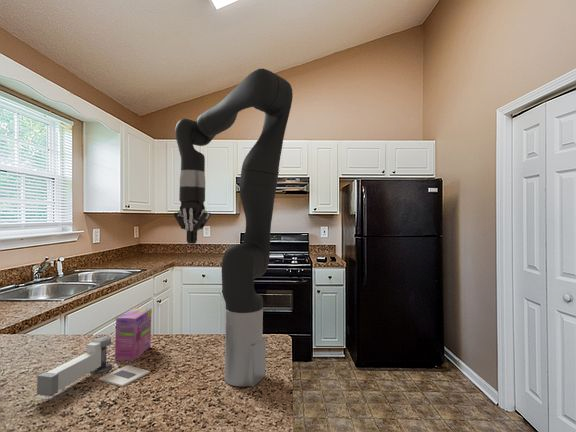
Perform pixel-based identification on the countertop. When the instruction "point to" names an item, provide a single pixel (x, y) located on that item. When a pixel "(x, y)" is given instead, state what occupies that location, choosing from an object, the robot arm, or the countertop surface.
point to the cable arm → (72, 369)
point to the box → (133, 334)
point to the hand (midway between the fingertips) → (191, 243)
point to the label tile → (124, 375)
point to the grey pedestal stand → (103, 362)
